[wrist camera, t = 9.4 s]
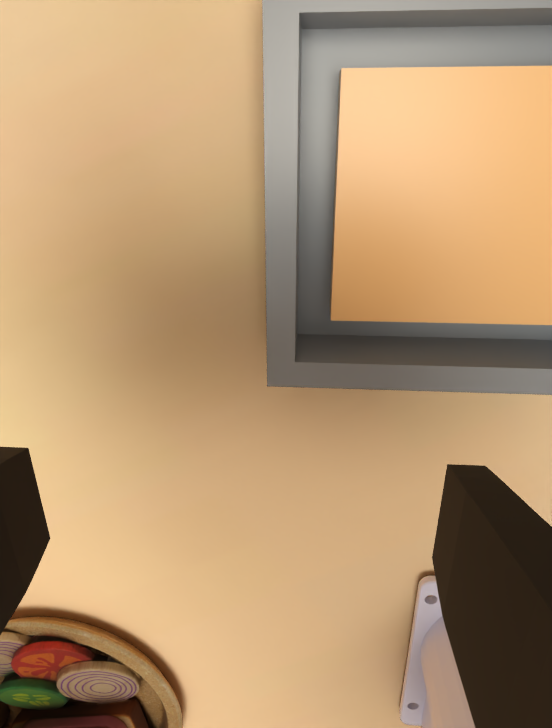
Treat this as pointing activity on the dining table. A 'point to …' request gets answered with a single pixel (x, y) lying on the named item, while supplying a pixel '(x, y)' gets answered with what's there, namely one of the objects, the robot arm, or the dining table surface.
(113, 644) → the toy sandwich meal
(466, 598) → the robot arm
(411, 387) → the box
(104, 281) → the dining table surface
